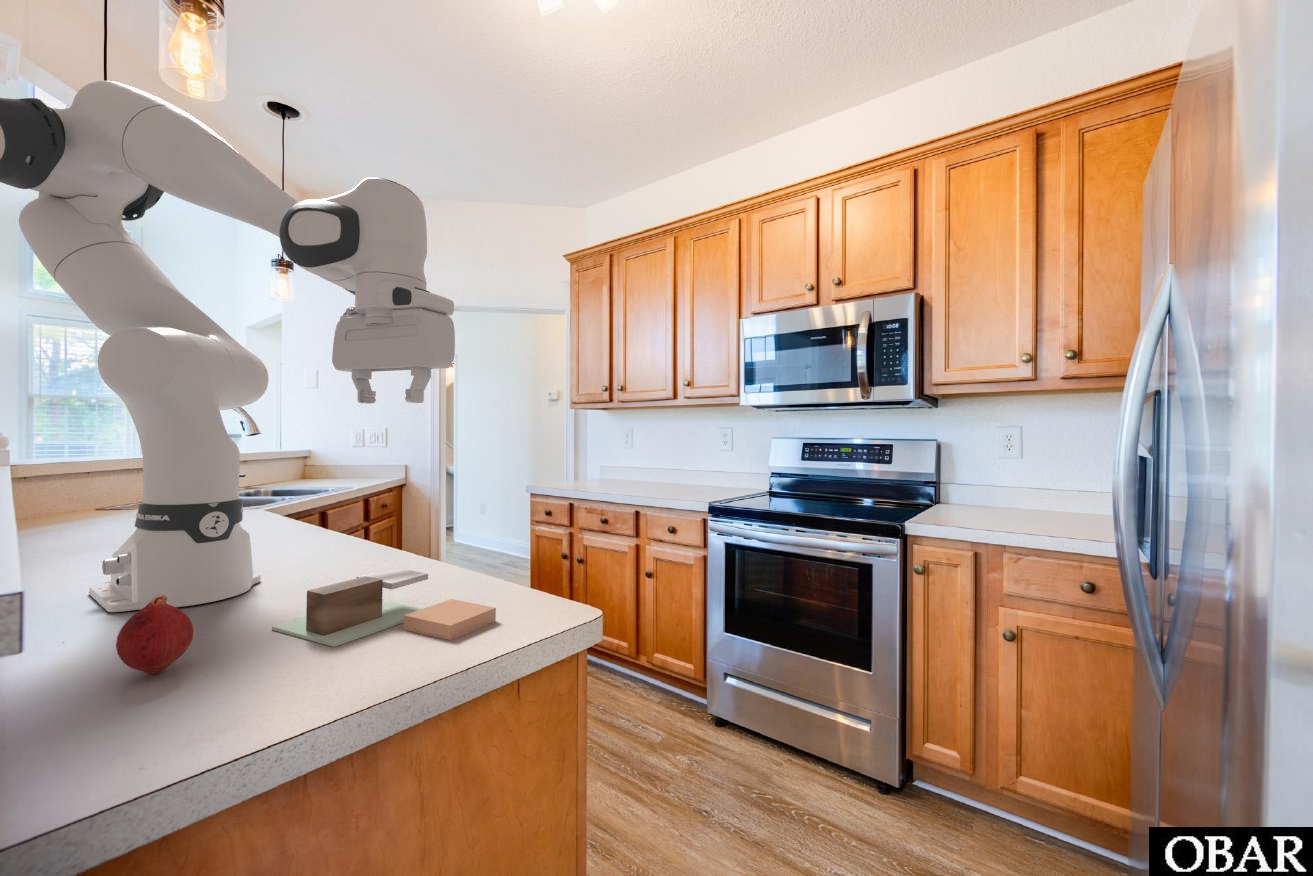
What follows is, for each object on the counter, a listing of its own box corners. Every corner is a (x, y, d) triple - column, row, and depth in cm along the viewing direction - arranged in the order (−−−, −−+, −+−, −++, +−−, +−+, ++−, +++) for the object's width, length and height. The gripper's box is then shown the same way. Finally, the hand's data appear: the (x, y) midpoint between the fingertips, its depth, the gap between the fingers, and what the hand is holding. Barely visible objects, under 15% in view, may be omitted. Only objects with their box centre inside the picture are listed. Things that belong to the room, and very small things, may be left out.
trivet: (271, 629, 70) (271, 626, 70) (371, 600, 82) (371, 597, 82) (334, 647, 65) (334, 643, 65) (430, 613, 77) (430, 610, 77)
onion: (146, 690, 53) (147, 606, 53) (99, 683, 55) (100, 602, 54) (206, 665, 59) (207, 590, 59) (163, 660, 60) (164, 586, 60)
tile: (403, 615, 71) (451, 598, 78) (403, 631, 71) (451, 613, 78) (450, 625, 68) (495, 607, 75) (449, 642, 68) (495, 623, 75)
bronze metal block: (297, 628, 69) (297, 588, 69) (393, 599, 82) (393, 565, 82) (333, 638, 66) (334, 596, 66) (427, 606, 79) (428, 571, 79)
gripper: (320, 303, 78) (318, 402, 78) (426, 290, 69) (424, 400, 69) (361, 313, 84) (359, 404, 84) (463, 301, 75) (461, 403, 75)
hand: (389, 403), depth 77 cm, fingers open, 8 cm apart
